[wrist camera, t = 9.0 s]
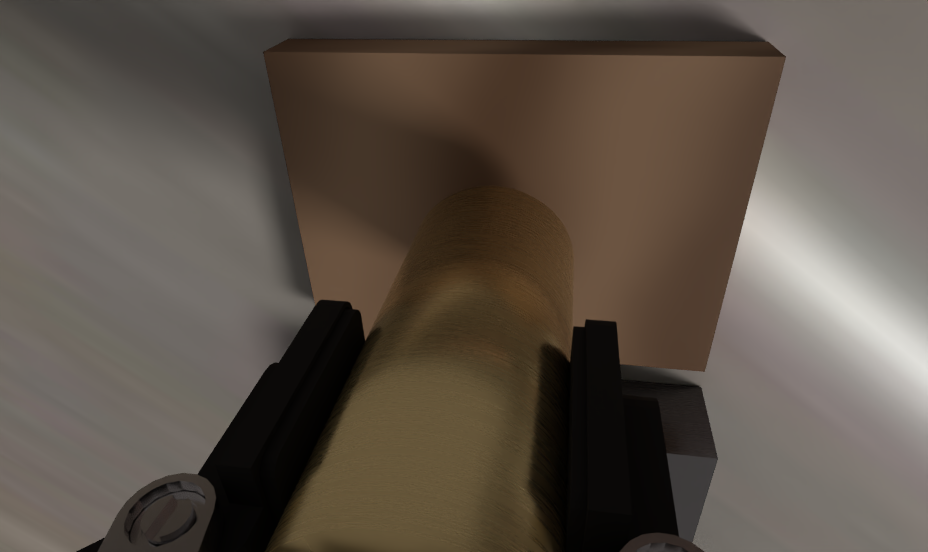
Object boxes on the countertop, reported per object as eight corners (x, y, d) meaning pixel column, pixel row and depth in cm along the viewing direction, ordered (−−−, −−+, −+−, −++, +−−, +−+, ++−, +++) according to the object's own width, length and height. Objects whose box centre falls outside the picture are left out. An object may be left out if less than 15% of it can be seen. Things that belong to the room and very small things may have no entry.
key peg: (580, 189, 13) (578, 559, 6) (568, 328, 16) (556, 726, 8) (408, 182, 14) (217, 510, 7) (420, 317, 16) (285, 678, 9)
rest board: (768, 41, 14) (785, 56, 13) (697, 339, 19) (704, 371, 18) (288, 39, 16) (263, 51, 15) (337, 310, 21) (321, 337, 19)
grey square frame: (701, 387, 20) (717, 459, 17) (650, 584, 26) (656, 657, 24) (358, 355, 22) (329, 415, 19) (390, 547, 28) (371, 610, 26)
